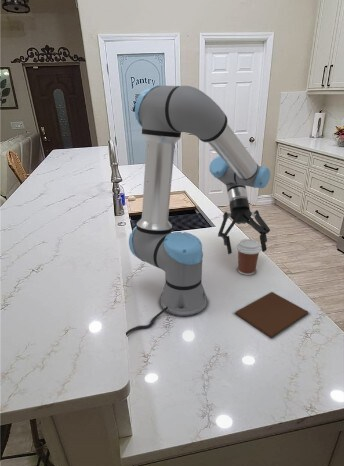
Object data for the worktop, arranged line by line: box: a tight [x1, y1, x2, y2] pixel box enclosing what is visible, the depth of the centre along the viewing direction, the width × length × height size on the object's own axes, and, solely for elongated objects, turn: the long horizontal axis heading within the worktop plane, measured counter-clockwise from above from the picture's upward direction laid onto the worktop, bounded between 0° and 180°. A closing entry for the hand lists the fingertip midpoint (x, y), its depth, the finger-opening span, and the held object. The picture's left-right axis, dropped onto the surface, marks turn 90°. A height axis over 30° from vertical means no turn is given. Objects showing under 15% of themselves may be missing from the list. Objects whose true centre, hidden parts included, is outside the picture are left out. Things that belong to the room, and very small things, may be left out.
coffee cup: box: [235, 238, 262, 276], centre depth 124 cm, size 9×9×12 cm
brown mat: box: [234, 291, 309, 339], centre depth 103 cm, size 18×14×1 cm
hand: (247, 252), depth 125 cm, fingers open, 13 cm apart
